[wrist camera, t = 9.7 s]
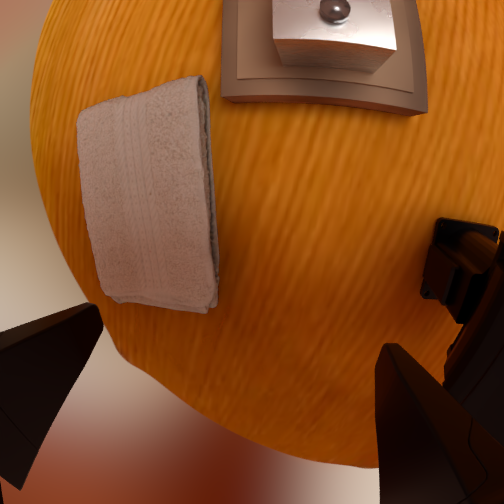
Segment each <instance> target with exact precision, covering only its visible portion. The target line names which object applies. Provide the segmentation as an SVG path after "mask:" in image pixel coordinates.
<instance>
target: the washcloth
mask: <svg viewBox="0 0 504 504" xmlns="http://www.w3.org/2000/svg"><path fill="white" fill-rule="evenodd" d="M209 106H210V104H209V95H208V88H207V84H206V81H205V80H204V78H203V76H202V75H198V76H188V77H187V78H180V79H178V80H173V81H170V82H167V83H165V84H162V85H160V86H158V87H154V88H153V89H151V90H150V91H147V92H143V93H139V94H136V95H132V96H130V97H125V96H120V97H117V98H113V99H111V100H110V99H108V100H107V101H104V102H101V103H98V104H96V105H94V106H91V107H89V108H86V109H85V110H82V112H81V113H80V114H79V117H78V119H77V122H76V124H77V144H78V147H77V148H78V155H79V160H80V163H79V168H80V178H81V190H82V198H83V199H82V200H83V202H82V203H83V205H84V209H85V219H86V222H87V230H88V232H89V238H90V240H91V245H92V252H93V254H94V258H95V265H96V269H97V273H98V279H99V280H100V286H101V288H102V290H103V291H104V293H105V295H106V296H110V297H111V298H112V299H113V300H114V301H116V302H117V303H120V304H122V303H125V302H132V303H141V304H145V305H151V306H157V307H162V308H169V309H173V310H181V311H191V312H199V313H202V314H206V313H208V309H209V307H210V308H214V307H216V306H217V304H218V292H217V291H218V284H219V276H218V273H219V268H218V265H219V248H218V233H217V222H216V210H215V194H214V179H213V165H212V153H211V137H210V108H209Z"/></svg>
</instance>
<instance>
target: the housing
mask: <svg viewBox="0 0 504 504" xmlns="http://www.w3.org/2000/svg"><path fill="white" fill-rule="evenodd" d="M272 6H273V40H274V42H275V45H276V48H277V50H278V53H279V56H280V58H281V61H282V64H283V66H295V67H318V68H332V69H342V70H351V71H359V72H367V73H373V74H374V73H375V72H376V71H377V70H378V69H379V68H380V67H381V66H382V65H383V64H384V63H385V62H386V61H387V60H388V59H389V58H390V57H391V56H392V55H393V53H394V52H395V51H396V50H397V48H396V39H395V31H394V23H393V17H392V10H391V5H390V0H272Z"/></svg>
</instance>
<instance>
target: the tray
mask: <svg viewBox="0 0 504 504" xmlns="http://www.w3.org/2000/svg"><path fill="white" fill-rule="evenodd" d="M390 5H391V10H392V17H393V23H394V31H395V39H396V48H397V50H396V51H395V52H394V53H393V55H392V56H391V57H390V58H389V59H388V60H387V61H386V62H385V63H384V64H383V65H382V66H381V67H380V68H379V69H378V70H377V71H376V72H375V73H374V74H373V73H367V72H359V71H351V70H342V69H332V68H318V67H295V66H283V64H282V61H281V58H280V56H279V53H278V50H277V48H276V45H275V42H274V40H273V6H272V0H223V20H222V56H221V97H223V98H225V99H227V100H229V101H231V102H233V103H251V102H287V103H312V104H326V105H338V106H348V107H356V108H364V109H372V110H378V111H385V112H390V113H396V114H402V115H407V116H415V115H420V114H424V113H428V99H427V77H426V64H425V54H424V46H423V38H422V31H421V25H420V19H419V14H418V9H417V4H416V0H390Z"/></svg>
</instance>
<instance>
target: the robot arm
mask: <svg viewBox="0 0 504 504" xmlns="http://www.w3.org/2000/svg"><path fill="white" fill-rule="evenodd" d="M443 222H444V226H443V227H441V224H442V223H443ZM494 231H495V232H494ZM493 232H494V234H493ZM498 236H499V230H498V228H496V227H495V226H491V225H485V224H480V223H474V222H468V221H462V220H455V219H449V218H439V219H438V220H437V222H436V226H435V231H434V236H433V241H432V245H431V246H430V247H429V252H428V256H427V260H426V264H425V268H424V272H423V278H424V279H423V283H422V286H421V290H420V294H421V296H422V297H423V298H424V299H438V300H439V301H440V303H441V305H443V306H446V308H447V309H448V311H449V312H450V314H451V315H452V317H453V319H454V320H455V322H456V323H457V324H463V327H462V329H461V330H460V332H459V334H458V336H457V337H456V339H455V341H454V343H453V344H451V345H450V347H449V348H448V350H447V360H446V362H445V365H444V377H445V380H444V382H443V383H442V385H443V386H442V385H441V384H440V383H438V382H437V381H436V380H435V379H434V378H433V377H432V376H431V375H430V374H429V373H428V372H427V371H426V370H425V369H424V368H423V367H422V366H421V365H420V364H419V363H418V362H417V361H416V360H415V359H414V358H413V357H412V356H411V355H410V354H409V353H408V352H407V351H405V350H404V349H403V348H402V347H401V346H400V345H399V344H397V343H385V344H384V345H383V346H382V349H381V351H380V354H379V357H378V360H377V362H376V365H375V422H376V433H377V445H378V460H379V482H380V504H504V231H501V234H500V237H499V239H500V242H499V245H498V244H497V240H498ZM426 291H428V292H427V293H426V294H424V293H425V292H426ZM103 327H104V326H103V321H102V318H101V315H100V312H99V308H98V307H97V305H95V304H92V303H88V302H86V303H83V304H80V305H78V306H74V307H72V308H69V309H66V310H63V311H60V312H57V313H54V314H51V315H48V316H46V317H43V318H40V319H37V320H34V321H31V322H28V323H25V324H23V325H20V326H17V327H14V328H11V329H8V330H6V331H3V332H0V476H1V477H2V478H3V479H5V480H6V481H7V482H9V483H10V484H12V485H13V486H14V487H16V488H17V489H18V490H21V489H22V487H23V485H24V483H25V480H26V478H27V476H28V473H29V471H30V469H31V467H32V464H33V462H34V460H35V458H36V456H37V454H38V452H39V449H40V447H41V445H42V443H43V441H44V438H45V437H46V435H47V433H48V431H49V429H50V427H51V425H52V423H53V421H54V419H55V417H56V416H57V414H58V412H59V410H60V408H61V406H62V405H63V403H64V401H65V399H66V397H67V396H68V394H69V392H70V390H71V388H72V387H73V385H74V383H75V382H76V380H77V378H78V377H79V375H80V373H81V371H82V370H83V368H84V367H85V364H86V363H87V361H88V359H89V357H90V355H91V353H92V351H93V349H94V347H95V345H96V343H97V341H98V339H99V337H100V335H101V333H102V331H103ZM0 504H4V503H3V497H2V491H1V483H0Z"/></svg>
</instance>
